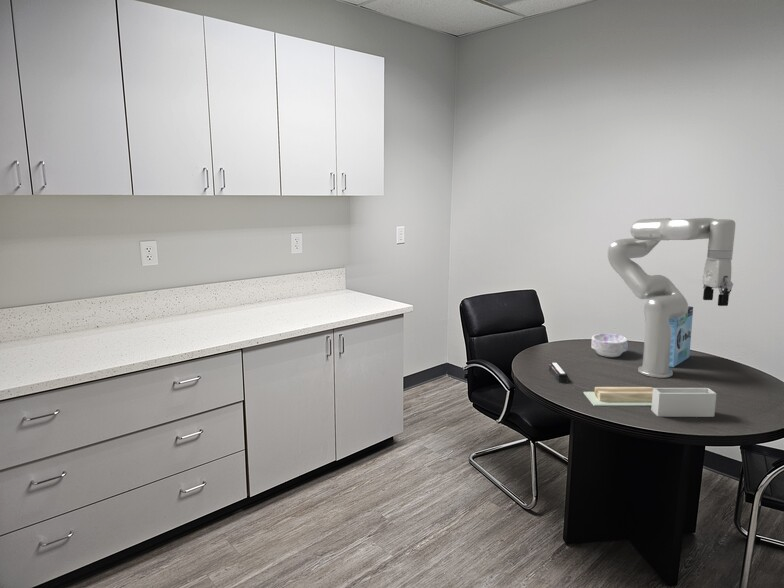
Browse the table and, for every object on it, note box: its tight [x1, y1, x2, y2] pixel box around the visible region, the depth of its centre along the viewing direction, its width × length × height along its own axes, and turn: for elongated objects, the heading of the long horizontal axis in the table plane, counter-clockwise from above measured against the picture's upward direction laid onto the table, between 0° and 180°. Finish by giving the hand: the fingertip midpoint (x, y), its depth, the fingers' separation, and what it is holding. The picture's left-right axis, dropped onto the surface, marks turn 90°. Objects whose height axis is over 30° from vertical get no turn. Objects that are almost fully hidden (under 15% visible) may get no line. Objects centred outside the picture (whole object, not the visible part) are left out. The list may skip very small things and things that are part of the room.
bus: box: [548, 362, 569, 384], centre depth 215 cm, size 14×25×4 cm, turn 178°
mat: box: [583, 391, 652, 407], centre depth 188 cm, size 12×26×1 cm, turn 87°
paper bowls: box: [590, 333, 629, 358], centre depth 239 cm, size 15×15×8 cm
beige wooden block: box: [594, 386, 654, 401], centre depth 188 cm, size 6×20×3 cm, turn 87°
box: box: [650, 387, 717, 418], centre depth 175 cm, size 5×18×8 cm, turn 87°
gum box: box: [669, 305, 694, 368], centre depth 226 cm, size 20×5×23 cm, turn 133°
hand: (715, 302), depth 188 cm, fingers open, 9 cm apart
